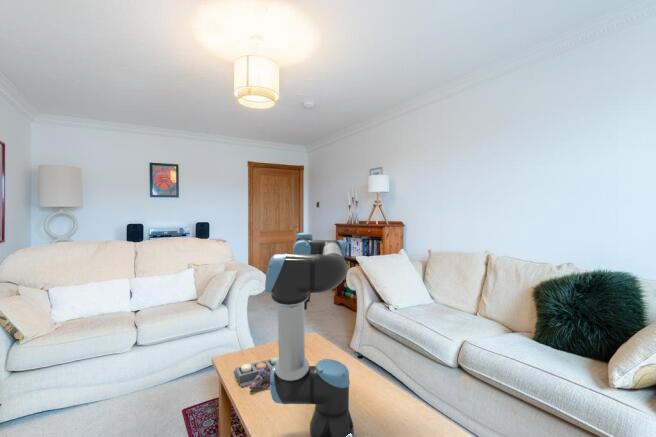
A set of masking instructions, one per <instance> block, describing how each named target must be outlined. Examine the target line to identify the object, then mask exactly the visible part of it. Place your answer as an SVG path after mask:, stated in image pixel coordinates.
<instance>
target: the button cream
mask: <svg viewBox="0 0 656 437" xmlns="http://www.w3.org/2000/svg"><path fill="white" fill-rule="evenodd" d="M250 364H251V363H244V364H242V365H241V366H240V367H241V373H242V374H244V373H248V372H251V365H250Z"/></svg>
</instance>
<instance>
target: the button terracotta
mask: <svg viewBox="0 0 656 437" xmlns="http://www.w3.org/2000/svg"><path fill="white" fill-rule="evenodd" d="M263 368H266V364H265V363H258V364H257V365H256V369H257V370H259V369H263Z"/></svg>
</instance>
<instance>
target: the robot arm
mask: <svg viewBox="0 0 656 437" xmlns="http://www.w3.org/2000/svg"><path fill="white" fill-rule="evenodd" d="M313 238H314V237H313V233H310V232H299V233H297V234H296V238H295V243H294V245H293V248H292V250H293V251H292V252H293V253H276V254H273V255H272V256H271V257H270V260H269V262H268V266H267V271H266V275H265V282H264V288H265V289H264V291H265V292H266V293H268V294H271V299H272V301H273V302H274V303H275V304H276V312H277V314H276V316H277V338H278V340H277V343H278V357H279V360H278V361H277V363H276V365H275V366H273V368H272V370H271V375H270V385H269V390H270V396H271V399H272V401H273V402H274V403H276V404H280V405H281V404H283V405H314V406H315V408H314V410H313V414H312V416H311V419H310V422H309V435H310V437H346V436H347V435H348V434H350V433H351V434H353V435H354V422H353V419H352V416H351V413H350V408H349V405H350V400H349V399H350V385H351V382H350V381H351V380H350V373H349V372H350V371H349V369H348V368H347V366H346V365H345V364H343V363H342V362H340V361H338V360H335V359H331V358H330V359H329V358H324V359H322V360H320V359H319V360H318V361H317V363H316V364H315V365H310V362H309V361H308V359H307V358H306V352H305V351H306V350H305V349H306V348H305V346H306V345H305V344H306V343H305V337H306V336H305V317H307V315H308V314H307V313H308V311H307V310H308V303H309V302H310V301H311V294H321V293H322V294H323V293H325V292H326V293H327V292H328V291H331V290H334V289H335V288H336V287H338V286H339V285H340V284H342V282H343V281H345V279H346V277H347V274H348V264H347V261H346V259H345V256H346V242H345V241H344V240H339V239H336V240H335V239H331V240H330V239H328V240H327V239H326V240H325V239H313Z"/></svg>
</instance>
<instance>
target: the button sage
mask: <svg viewBox="0 0 656 437" xmlns="http://www.w3.org/2000/svg"><path fill="white" fill-rule="evenodd" d="M270 359H271V365H272V366H275V365H276V363H277V361H278V360H279V356H273V357H272V358H270Z"/></svg>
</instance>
